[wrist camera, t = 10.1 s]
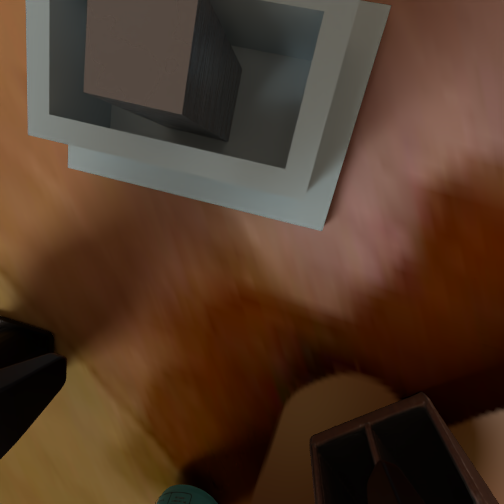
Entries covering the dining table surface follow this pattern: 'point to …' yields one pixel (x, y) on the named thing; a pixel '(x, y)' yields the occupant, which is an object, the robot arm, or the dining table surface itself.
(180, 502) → the beverage bottle
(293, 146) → the grey open box
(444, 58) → the dining table surface
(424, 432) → the letter holder
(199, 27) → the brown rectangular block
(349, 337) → the dining table surface
